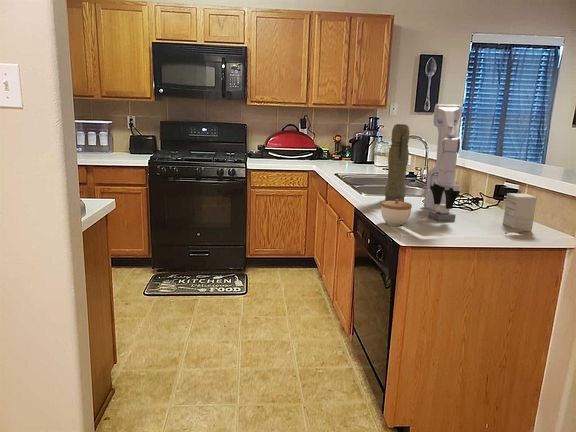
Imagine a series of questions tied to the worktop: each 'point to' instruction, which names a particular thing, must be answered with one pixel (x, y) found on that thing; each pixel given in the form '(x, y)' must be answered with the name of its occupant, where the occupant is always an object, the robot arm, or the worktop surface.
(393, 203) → the lidded jar
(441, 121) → the robot arm
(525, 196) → the supplement box
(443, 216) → the stand base
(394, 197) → the potted cactus
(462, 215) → the worktop surface
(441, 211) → the column
